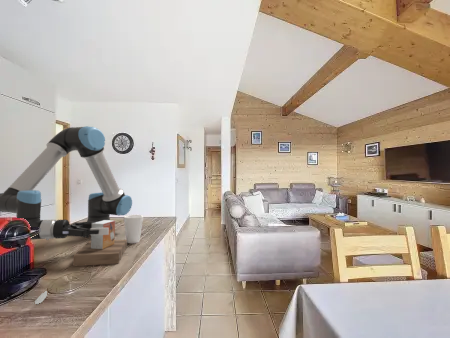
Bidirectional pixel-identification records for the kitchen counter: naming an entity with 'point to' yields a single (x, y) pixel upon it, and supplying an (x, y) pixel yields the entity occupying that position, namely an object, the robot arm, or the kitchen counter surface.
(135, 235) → the foam cup
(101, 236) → the small box
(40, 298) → the butter knife
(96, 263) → the walnut plinth
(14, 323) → the kitchen counter surface
